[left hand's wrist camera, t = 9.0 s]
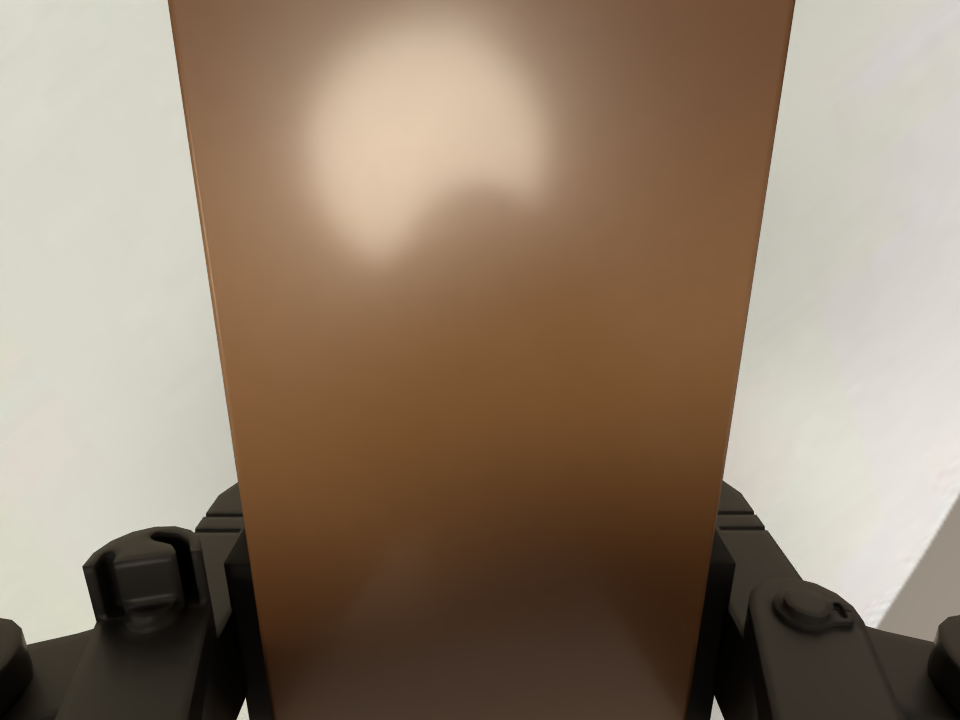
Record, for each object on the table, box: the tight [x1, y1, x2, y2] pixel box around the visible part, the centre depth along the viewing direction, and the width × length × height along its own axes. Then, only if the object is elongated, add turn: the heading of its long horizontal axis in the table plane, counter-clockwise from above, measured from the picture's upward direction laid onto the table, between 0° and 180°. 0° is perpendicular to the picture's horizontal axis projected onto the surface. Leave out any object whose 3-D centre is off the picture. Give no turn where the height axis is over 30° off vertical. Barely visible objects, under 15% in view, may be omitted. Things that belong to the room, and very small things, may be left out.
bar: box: [168, 0, 795, 720], centre depth 9 cm, size 23×5×8 cm, turn 0°
